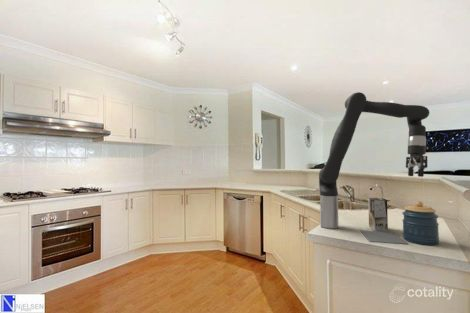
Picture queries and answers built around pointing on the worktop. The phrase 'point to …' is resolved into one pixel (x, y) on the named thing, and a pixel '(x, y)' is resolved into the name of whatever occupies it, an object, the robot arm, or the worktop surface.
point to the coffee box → (378, 214)
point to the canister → (420, 224)
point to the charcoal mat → (383, 237)
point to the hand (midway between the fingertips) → (415, 176)
